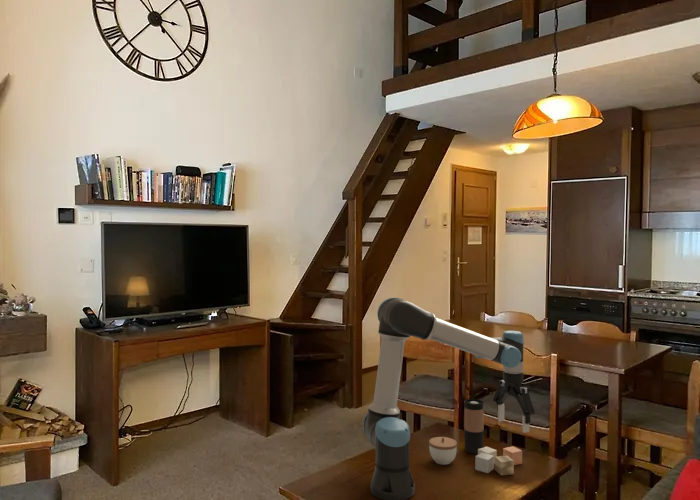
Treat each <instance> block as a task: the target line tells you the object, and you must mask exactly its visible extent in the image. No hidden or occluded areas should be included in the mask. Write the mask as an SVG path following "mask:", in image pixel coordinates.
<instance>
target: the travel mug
mask: <svg viewBox="0 0 700 500" xmlns="http://www.w3.org/2000/svg"><path fill="white" fill-rule="evenodd" d="M463 421H464V422H463V423H464V424H463V426H464V429H463V432H464V437H463V438H464V450H465V452H467V453H470V454H478V449H480V448H483V447H484V431H485V430H484V401H483V400H481V399H477V398H466V399H465V400H464V418H463Z"/></svg>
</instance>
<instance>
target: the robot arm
mask: <svg viewBox="0 0 700 500" xmlns="http://www.w3.org/2000/svg"><path fill="white" fill-rule="evenodd" d="M377 319H378V321H379V324H378V331H377V332H378V334H379V336H380V338H381V340H380V347H379V357H378V364H377V372H376V380H375V386H374V387H375V389H374V394H373V402H372V403H371V404H369V405H368V409H367V413H366V414H365V415H364V418H363V421H362V423H363V424H362V428H363V432H364V434H365V435H364V436H366V438H367V439H368V441H369V442H370V443H371V444H372V446H373V447H374V449H375V468H374V472H373V474H372V475H373V476H372V478H371V481H370V484H369V485H370V488H369V489H370V493H371V494H372V495H373V496H374V497H375V498H377V499H380V500H408V499H410V498H411V497H413V496H414V495H415V491H416V489H415V487H416V485H415V482H414V481H415V480H414V478H413V475H412V473H411V472H412V471H411V469H410V467H411V465H410V462H411V461H410V459H411V456H410V455H411V454H410V453H411V452H410V450H411V447H410V445H411V442H410V440H411V431H410V426H409V423H408V422H406V421H405V420H403V419H402V418H401V419H400V415H401V410H400V409H399V407H398V397H399V392H400V391H399V390H400V382H401V373H402V368H403V367H402V366H403V358H404V350H405V343H406V341H407V340H409V338H410V337H414V338H418V339H421V340H423V341H426V340H428V339H430V340H432V341H434V342H435V341H436V342H438V343H441V344H444V345H446V346H450V347H451V348H455V349H457V350H458V349H459V350H461V351H462V352H463V351H464V352H466V353H469V354H472V355H474V356H475V358H477V359H483V360H484V359H486V360H489V361H491V362H494V363H497V364H499V365H501V366H502V370H503V372H502V379H501V380H498V385H497V389H496V391H495V394H494V396H493V400H492V401H493V402H495V404H496V406H497V407H496V410H497V422H500V423H501V422H505V414H506V413H505V412H506V411H505V408H506V407H505V401H506V400H507V398H508V397H509V396H512V397H513V398H514V399H515V400H517V402H518V404H519V406H520V408H521V411H522V417H521V418H522V426H521V427H522V429H521V430H522V431H521V432H522V433H524V434H525V433H529V432H530V424H531V416H532V415H535V414H536V410H535V408H534V406H533V403H532V399H531V396H530V392H529V391H530V390H529V387H523V385H522V384H523V382H524V373H523V372H524V344H525V343H524V335H523V333H522V332H521V331H519V330H504V331H503V332H502V336H497V337H489V336H486V335H484V334H481V333H478V332H476V331H473V330H470V329H468V328H465V327H462V326H460V325H457V324H454V323H451V322H448V321H446V320H443V319H440V318H437V317H436V316H435V314H434V312H430V311H427V310H425V309H423V308H422V307H419V306H418V305H416V304H414V303H412V302H411V301H407V300H406V299H405V300H404V299H403V298H399V297H389V298H387V299H384V300H383V301H382V302H381V303H380V304H379V306H378V309H377Z"/></svg>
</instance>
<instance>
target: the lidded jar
mask: <svg viewBox="0 0 700 500" xmlns="http://www.w3.org/2000/svg"><path fill="white" fill-rule="evenodd" d="M428 445H429V447H428V448H429V455H430V457H431V458H432V460H434V462H435V463H436V464H438V465H442V466H444V465H445V466H447V465H450V464H451V463H452V462H453V461H454V460H455V458H456V456H457V451H458V448H457V447H458V443H457V441H456V440H455V439H453V438H451V437H447V436H436V437H432V438H429V441H428Z"/></svg>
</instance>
